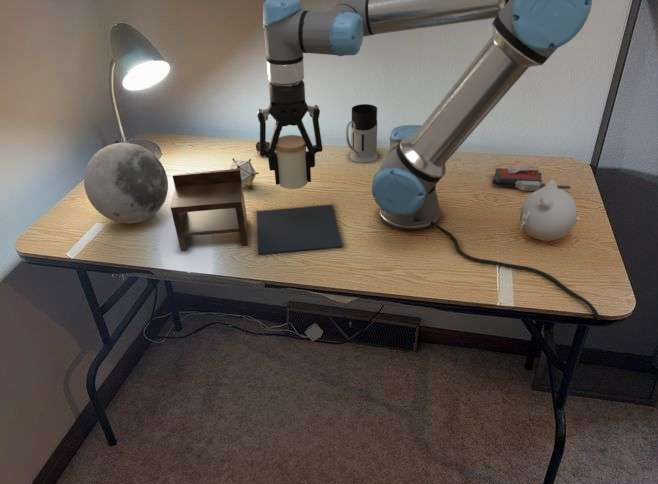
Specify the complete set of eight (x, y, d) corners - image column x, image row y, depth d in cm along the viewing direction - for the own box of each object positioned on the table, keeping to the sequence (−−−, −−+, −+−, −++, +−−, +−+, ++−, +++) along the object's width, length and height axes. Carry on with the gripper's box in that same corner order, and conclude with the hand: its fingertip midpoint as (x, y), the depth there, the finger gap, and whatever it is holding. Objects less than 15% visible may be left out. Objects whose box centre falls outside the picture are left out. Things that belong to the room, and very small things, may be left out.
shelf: (247, 222, 139) (240, 168, 129) (247, 245, 130) (239, 189, 121) (184, 227, 137) (172, 174, 128) (180, 251, 129) (167, 196, 120)
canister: (306, 174, 130) (304, 133, 124) (309, 188, 125) (307, 146, 118) (277, 176, 130) (273, 136, 123) (279, 190, 124) (275, 148, 118)
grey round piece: (569, 259, 121) (583, 212, 113) (509, 246, 125) (519, 200, 118) (576, 227, 131) (590, 181, 123) (521, 216, 136) (531, 171, 128)
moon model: (86, 239, 135) (59, 165, 122) (111, 200, 150) (89, 131, 138) (165, 237, 134) (146, 163, 122) (182, 198, 150) (166, 128, 137)
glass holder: (383, 154, 168) (384, 106, 158) (359, 172, 159) (360, 122, 149) (358, 148, 172) (359, 101, 162) (334, 165, 163) (333, 116, 153)
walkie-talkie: (492, 190, 147) (569, 194, 144) (494, 176, 144) (573, 179, 141) (489, 176, 154) (563, 179, 150) (492, 161, 151) (567, 164, 148)
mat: (331, 206, 143) (331, 204, 143) (342, 247, 128) (342, 245, 128) (256, 212, 142) (256, 211, 142) (258, 255, 127) (258, 253, 126)
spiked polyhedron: (246, 201, 155) (238, 186, 145) (225, 184, 157) (215, 168, 147) (267, 178, 156) (259, 162, 146) (245, 162, 158) (237, 145, 148)
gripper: (330, 72, 116) (332, 170, 130) (239, 78, 115) (251, 176, 129) (335, 83, 110) (336, 184, 125) (238, 90, 109) (251, 191, 123)
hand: (293, 180), depth 127 cm, fingers closed on canister, 7 cm apart
